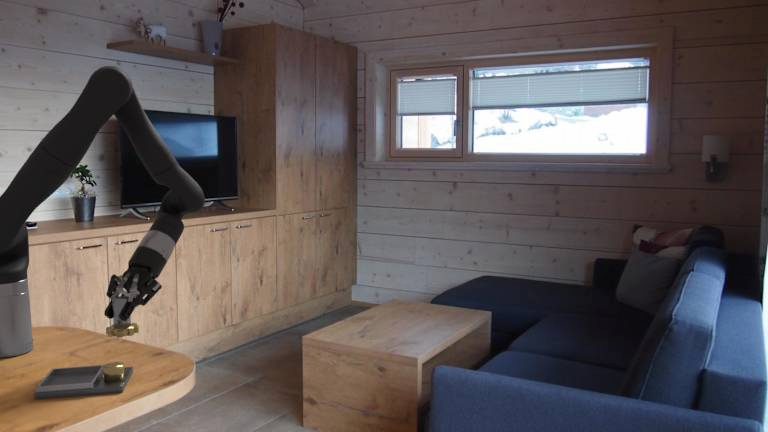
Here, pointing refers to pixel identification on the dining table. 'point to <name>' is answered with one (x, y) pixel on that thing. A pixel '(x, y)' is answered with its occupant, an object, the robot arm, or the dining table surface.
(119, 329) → the gear
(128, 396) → the dining table surface
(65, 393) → the tray
